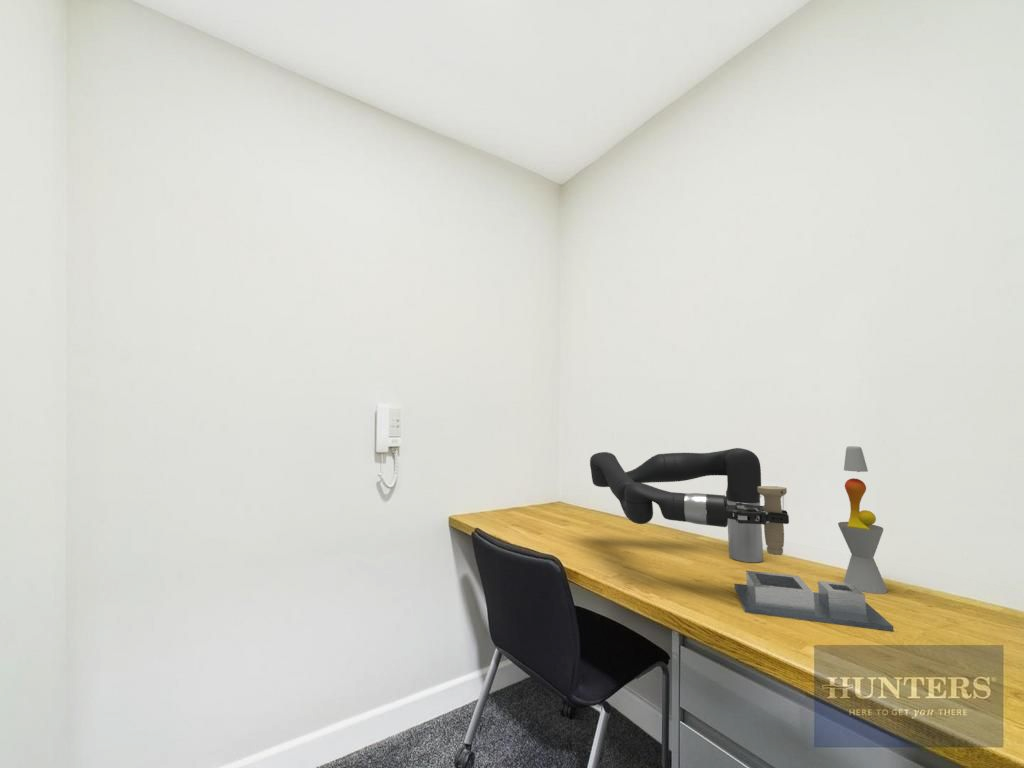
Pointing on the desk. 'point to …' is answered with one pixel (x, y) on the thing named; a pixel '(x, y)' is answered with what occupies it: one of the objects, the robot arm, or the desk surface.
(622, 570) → the desk surface
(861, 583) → the stacked pieces
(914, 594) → the desk surface
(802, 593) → the socket plate
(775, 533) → the handle
